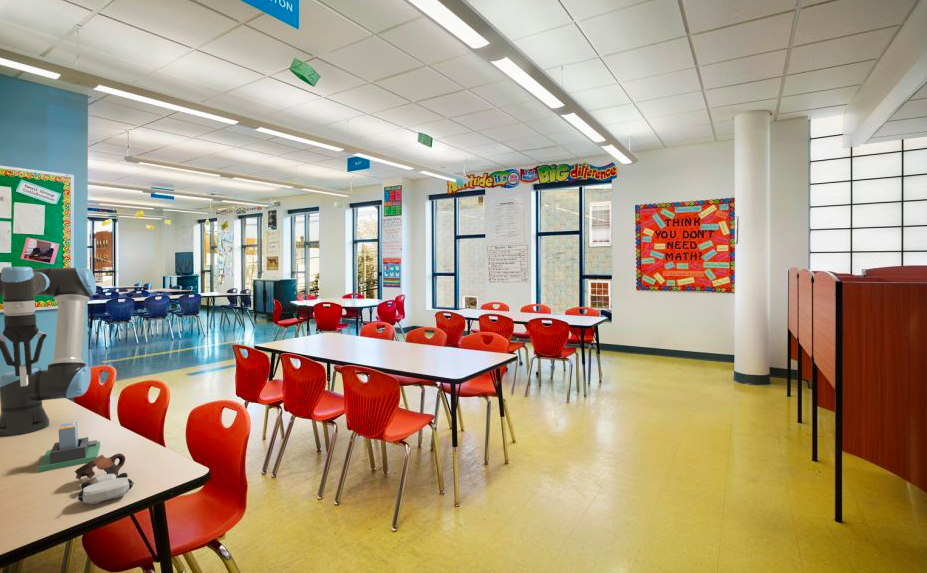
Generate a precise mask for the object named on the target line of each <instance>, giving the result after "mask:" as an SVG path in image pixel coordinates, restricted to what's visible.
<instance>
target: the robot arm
mask: <svg viewBox="0 0 927 573" xmlns="http://www.w3.org/2000/svg"><path fill="white" fill-rule="evenodd" d="M93 273H94V272H92V270H91V269H90V268H86V267H77V266H76V267H43V268H41V267H40V268H35V269H33V268H32V267H31V266H5V267H3V268H2V269H1V271H0V295H1V296H2V305H3V306H2V307H3V314H4V316H3V321H4V322H3V323H4V330H3V331H2V334H0V352H1V354H2V357H3V358H4V359H3V360H4V361H5V364H6V366H12V367H14V370H11V371H8V372H5V373H3V374H1V375H0V436H2V437H6V436H17V435H22V434H23V435H24V434H28V433H32V432H35V431H39V430H42V429H44V428H47V427H49V425H50V418H49V416H48V414H47V413H46V410H45V408H44V406H43V401H48V400H58V399H71V398H76V397H82V396H83V395H85V394H86V392H87V391H88V389H89V388H90V387H89V386H90V384H91V379H92V374H91V373H92V372H91V371H92V369H91V368H90V367H89V366H87V364H86V362H85V361H84V360H83V359H82V352H83V338H84V324H85V312H86V311H85V310H86V303H88V302H90V300H91V296H94V295H96V292H97V285H96V284H97V283H96V279H95V275H94V274H93ZM35 296H41V297H42V296H43V297H53V300H54V301H55V302H57V312H56V313H57V316H56V328H55V338H54V352H53V360H52V361H51V362H50V363H48V364H47V369H45V370H44V369H43V370H42V368H41V367H40V366H32V365H33V364H36V363H38V362H39V359H40V356H41V353H42V348H43V344H44V341H45V339H46V338H47V336H48V333H47V332H42V331H41V330H39V328H38V326H37V316H36V314H35V312H36V301H35V300H36V299H35ZM36 335H37V339H38V340H37V343H36V347H35V351H34V354H33V357H32V350H31V349H32V348H31V341H32V340H33V339H34V338H35V336H36ZM6 339H8V341H10V342H11V343H12V346H13V347H12V348H13V358H12V356H11V353H10V351H9V349H8V348H9V347H8V346H7V343H6V342H5V340H6ZM21 343H23V348H24V350H23V351H24V362H25V364H22V362H21V361H22V360H21ZM32 358H33V359H32Z"/></svg>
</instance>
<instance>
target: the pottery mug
mask: <svg viewBox="0 0 927 573" xmlns="http://www.w3.org/2000/svg"><path fill="white" fill-rule="evenodd" d="M117 459H118V463H117V464H116V460H117ZM125 462H126V456H125V455H124V454H123V453H115V454H114V455H112V456H110V457H105V456H104V454H100V455H98V457H97V458H95V459H94V460H92V461H90V462H88V463H84V464H83V465H82V466H80V467H78V468H77V469H75V471H74V473H75V474H76V475H75V479H76V480H81V478H84V477H87V478H89V479H92V478H93V477H94V476H95V474H96V472H95V471H94V468H95V467H96V468H97V469H98V470H101V471H104V472H105V473H106V475H107V474H115V475H116V479H117V478H118V476H119V471H120V469H121V468H122V467H123V466H124V465H125Z"/></svg>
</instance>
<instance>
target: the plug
mask: <svg viewBox="0 0 927 573" xmlns="http://www.w3.org/2000/svg"><path fill="white" fill-rule="evenodd" d="M78 428H79V427H78V421H76V422H70V423H69V422H67V423H63V424H62V423H61V424H60V426H59V427H58V442H59V449H60V450H63V449H69V448H74V447H79V446H78V439H79V430H78Z"/></svg>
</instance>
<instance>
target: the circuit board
mask: <svg viewBox="0 0 927 573" xmlns="http://www.w3.org/2000/svg"><path fill="white" fill-rule="evenodd" d="M78 446H79V447H74V448H69V449H63V450H60V449H59V441H58V442H57V441H56V442H55V443H53V446H52V449H49V450H46V452H45V453H44V456H43V457H42V459H41V461H40V462H39V465H38V467H37V472H38V473H42V472H46V471H52V470H58V469H63V468H69V467H72V466H73V467H74V466H77V465H82V464H83V465H85V464H87V463H88V462H90V461H92V460H94V459H95V458H97V457H98V456H99V453H100V449H101V441H100V440H99V441H98V440H97V439H95V440H89V437H88V436H87V437H81V438H78Z"/></svg>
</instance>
